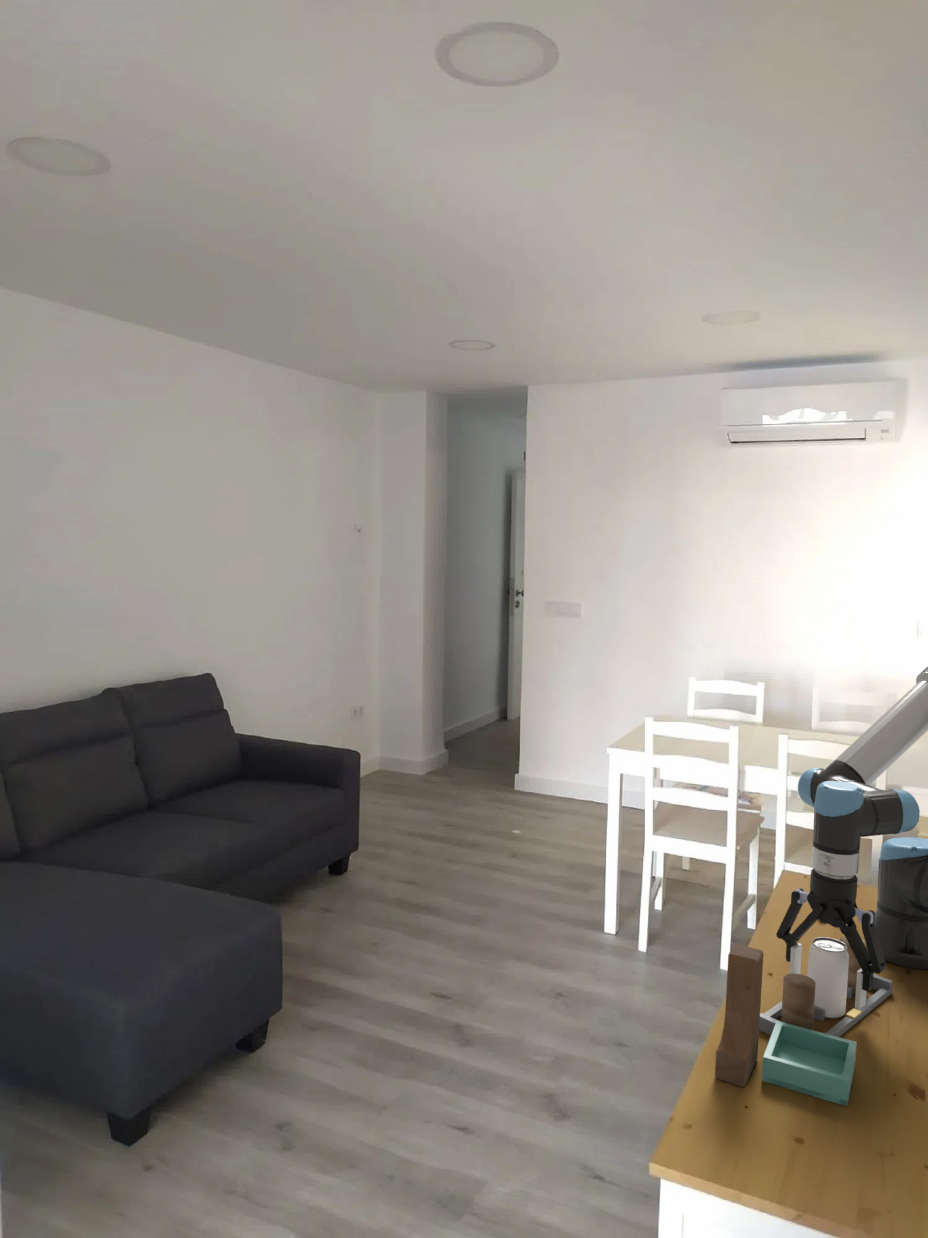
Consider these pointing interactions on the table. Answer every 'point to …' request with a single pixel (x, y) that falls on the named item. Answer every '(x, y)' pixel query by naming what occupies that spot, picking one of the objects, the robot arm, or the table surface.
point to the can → (829, 975)
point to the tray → (810, 1062)
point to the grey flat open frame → (852, 1017)
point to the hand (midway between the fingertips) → (826, 993)
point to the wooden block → (740, 1016)
